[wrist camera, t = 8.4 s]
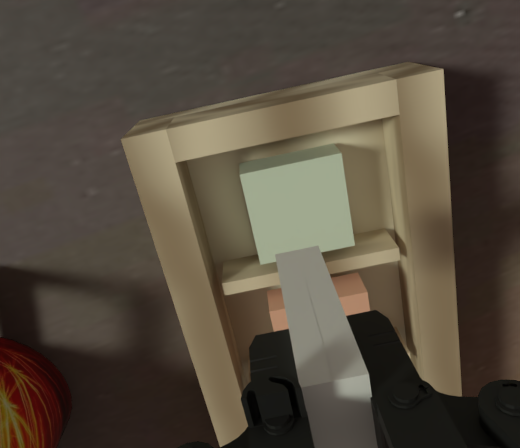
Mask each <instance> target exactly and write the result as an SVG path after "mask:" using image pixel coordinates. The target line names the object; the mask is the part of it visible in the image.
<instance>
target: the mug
mask: <svg viewBox="0 0 520 448" xmlns="http://www.w3.org/2000/svg"><path fill="white" fill-rule="evenodd" d="M71 408H72V403H71V394H70V391H69V387H68V384H67V383H66V381H65V379H64V377H63V376H62V374H61V373H60V371H59V370H58V369H57V368H56V367H55V366H54V364H53V363H52V362H50V361H49V360H48V359H47V358H45V357H44V356H43V355H42V354H40V353H39V352H37V351H35V350H33V349H32V348H30V347H28V346H26V345H23V344H21V343H18V342H16V341H13V340H9V339H5V338H0V448H57V446H58V443H59V441H60V439H61V436H62V434H63V432H64V429H65V427H66V425H67V422H68V420H69V417H70V413H71Z"/></svg>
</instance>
